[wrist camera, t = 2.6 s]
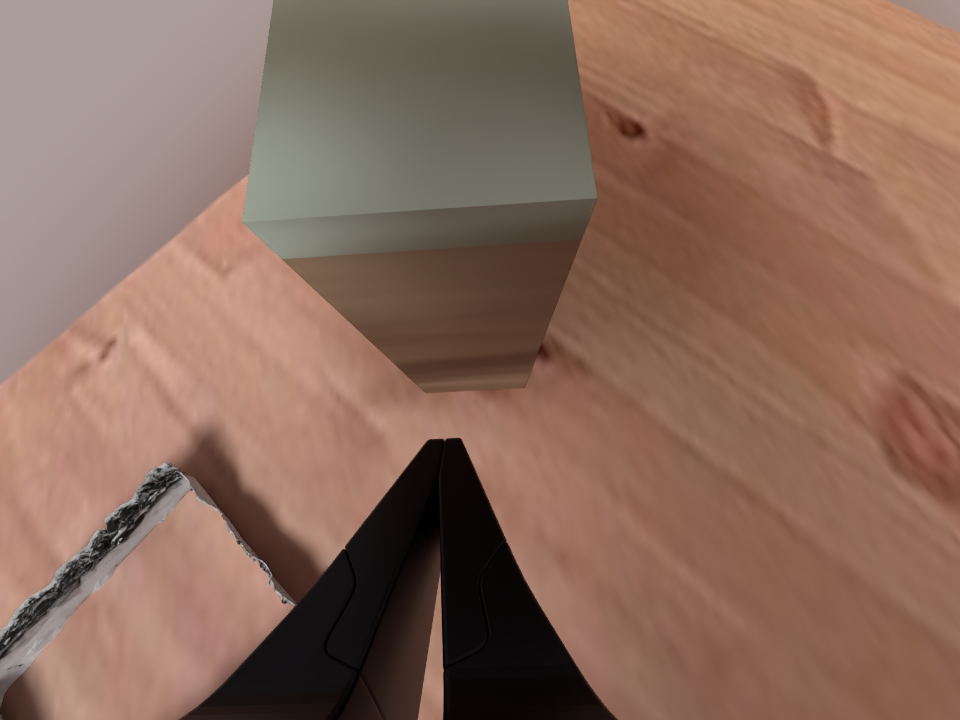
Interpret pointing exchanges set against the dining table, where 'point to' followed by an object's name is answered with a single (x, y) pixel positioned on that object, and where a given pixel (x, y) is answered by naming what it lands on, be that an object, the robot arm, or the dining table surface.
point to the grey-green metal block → (426, 174)
